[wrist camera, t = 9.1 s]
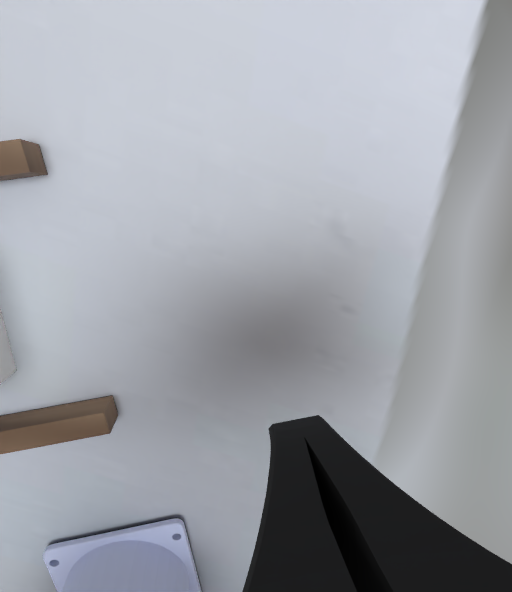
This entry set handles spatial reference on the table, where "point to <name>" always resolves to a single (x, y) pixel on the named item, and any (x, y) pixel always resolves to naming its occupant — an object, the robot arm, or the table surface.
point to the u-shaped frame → (63, 418)
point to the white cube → (5, 353)
